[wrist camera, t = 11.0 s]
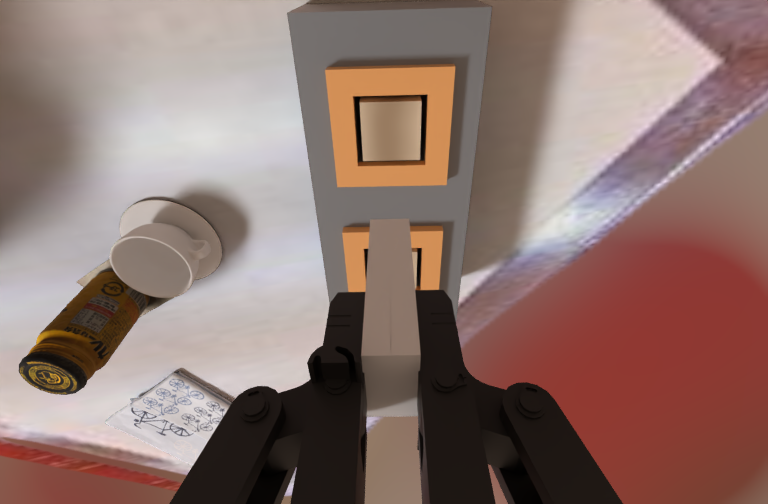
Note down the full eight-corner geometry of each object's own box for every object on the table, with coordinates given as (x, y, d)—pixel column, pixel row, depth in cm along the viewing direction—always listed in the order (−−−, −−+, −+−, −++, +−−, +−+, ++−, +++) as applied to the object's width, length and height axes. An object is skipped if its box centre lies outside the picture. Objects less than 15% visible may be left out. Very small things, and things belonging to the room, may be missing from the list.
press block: (338, 282, 44) (331, 328, 38) (304, 4, 28) (284, 14, 23) (448, 281, 43) (457, 327, 38) (474, -1, 28) (495, 8, 22)
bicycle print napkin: (282, 426, 62) (279, 440, 60) (200, 464, 69) (195, 477, 68) (179, 363, 53) (172, 377, 51) (98, 414, 60) (89, 428, 59)
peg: (367, 129, 33) (362, 161, 28) (364, 78, 31) (359, 102, 26) (414, 128, 33) (419, 159, 28) (416, 77, 31) (421, 101, 25)
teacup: (156, 283, 44) (134, 313, 40) (100, 207, 39) (69, 234, 35) (239, 269, 43) (225, 299, 39) (195, 188, 37) (173, 213, 33)
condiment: (77, 280, 44) (-11, 371, 34) (125, 247, 41) (44, 335, 31) (133, 320, 47) (67, 412, 38) (181, 292, 45) (123, 383, 35)
